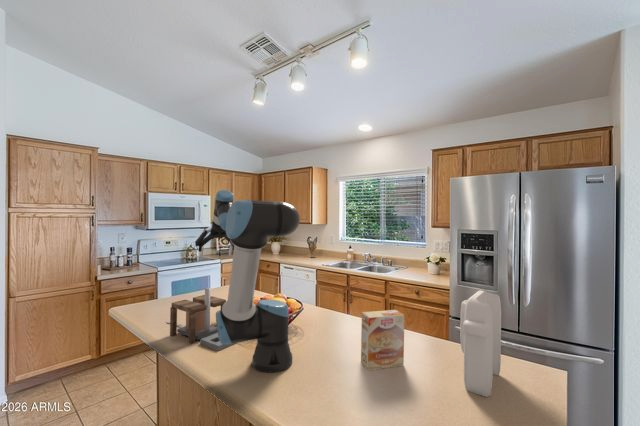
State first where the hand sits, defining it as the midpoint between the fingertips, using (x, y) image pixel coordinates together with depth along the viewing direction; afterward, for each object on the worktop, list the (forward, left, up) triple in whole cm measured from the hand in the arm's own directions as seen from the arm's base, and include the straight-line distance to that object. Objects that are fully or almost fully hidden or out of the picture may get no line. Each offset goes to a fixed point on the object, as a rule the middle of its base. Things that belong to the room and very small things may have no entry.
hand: (215, 255), depth 153 cm
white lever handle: (0, +9, -36) cm, 37 cm away
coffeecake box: (-83, -12, -36) cm, 91 cm away
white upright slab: (-115, -20, -36) cm, 122 cm away
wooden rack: (+8, +9, -36) cm, 38 cm away
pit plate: (-17, +9, -36) cm, 41 cm away
